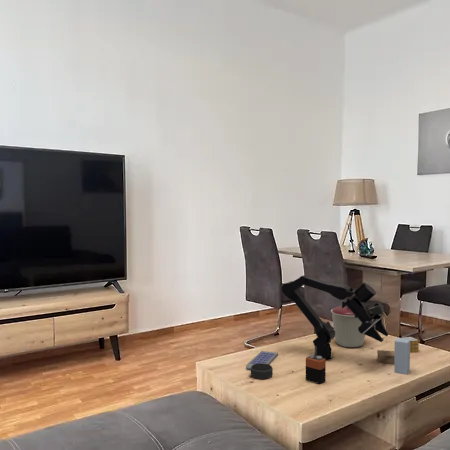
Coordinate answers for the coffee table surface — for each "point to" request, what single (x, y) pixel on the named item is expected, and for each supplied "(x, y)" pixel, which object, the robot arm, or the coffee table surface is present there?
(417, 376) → the coffee table surface
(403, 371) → the slate block
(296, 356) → the coffee table surface
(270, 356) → the remote control
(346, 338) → the canister
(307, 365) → the battery
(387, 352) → the walnut block
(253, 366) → the smart speaker
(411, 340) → the puzzle toy
